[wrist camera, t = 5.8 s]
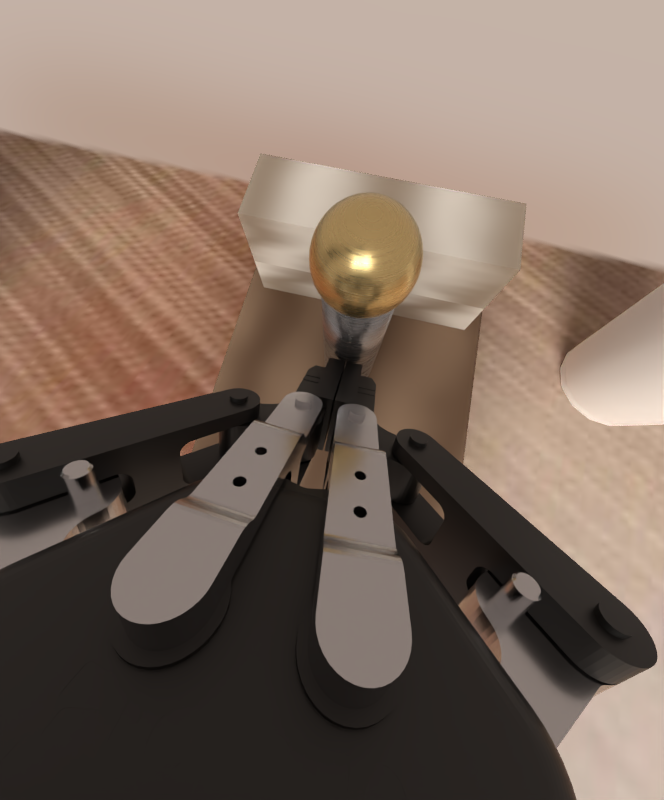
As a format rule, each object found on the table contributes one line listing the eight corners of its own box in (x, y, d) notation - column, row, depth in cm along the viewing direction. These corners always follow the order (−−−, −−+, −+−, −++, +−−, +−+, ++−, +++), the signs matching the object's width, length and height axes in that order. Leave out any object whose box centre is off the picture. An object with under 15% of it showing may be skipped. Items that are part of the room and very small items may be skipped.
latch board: (197, 478, 19) (107, 482, 12) (273, 252, 24) (245, 143, 16) (439, 539, 18) (518, 587, 11) (473, 293, 23) (547, 199, 15)
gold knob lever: (313, 401, 18) (283, 270, 6) (345, 278, 20) (366, 12, 9) (364, 413, 18) (426, 300, 6) (391, 287, 20) (475, 30, 8)
